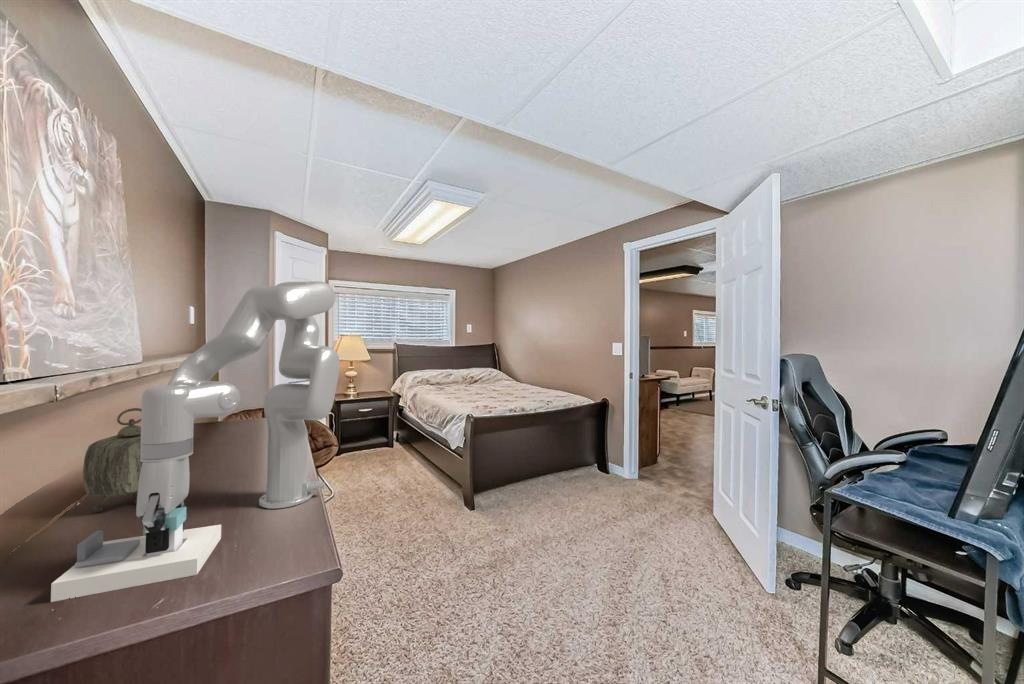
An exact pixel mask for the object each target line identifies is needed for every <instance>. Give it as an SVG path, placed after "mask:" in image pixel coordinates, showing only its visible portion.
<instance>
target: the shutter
mask: <svg viewBox="0 0 1024 684" xmlns="http://www.w3.org/2000/svg"><path fill="white" fill-rule="evenodd" d="M103 542H104V530H103V529H100V530H95V531H94V532H92V533H91V534H89V535H88V536H87V537H86V538H84V539H83V540H82V541H80V542H79V543H77V546H76V562H75V563H74V565H75V568H78V567H84V566H90V565H96V564H103V563H109V562H115V561H121V560H123V559H124V558H125V557H126V556H127V555H128V554H130V553H131V552H132V551H133V550H134V549H135V548H136V547H137V546H138V545H139V544H140V539H138V540H132V541H125V542H118V543H112V544H105V545H103Z"/></svg>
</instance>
